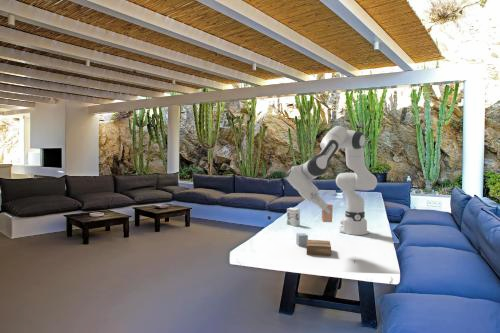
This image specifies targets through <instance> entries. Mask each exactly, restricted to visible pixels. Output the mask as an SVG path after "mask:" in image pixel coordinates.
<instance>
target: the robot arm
mask: <svg viewBox="0 0 500 333" xmlns="http://www.w3.org/2000/svg"><path fill="white" fill-rule="evenodd" d="M366 139H367V138H366V136H365V134H364V133H363V132H362V131H359V130H352V129H346V128H345V127H344V126H343V125H336V126H333V128H331V129H330V130H329V131H327V133H326V134H325V135H324V136H323V137H322V139H321V141H320V143H319V147H320V148H321V151H320V152H319V154H316V155H313V156H312V157H311V158H310V159H308V160H307V161H305V163H302V164H299V165H293V166H291V167H290V168H289V169H288V171H287V172H286V174H285V178H286V180H287V182H288V183H289V184H290V186H292V188H293V189H294V190H296V191H297V192H298V193H299V195H300V197H302V198H303V200H305V201H306V202H307V201H309V202H311V203H313V204H314V205H316V206H317V207H318V208H320V209H321V211H322V210H325V211H326V212H327V213H328V214H330V213H331V211H330V210H329V209H328V208H327V206H328V205H327V204H328V203H327V202H325V200H324V199H323V198H322V197H321V196H320V193H319V188H318V187H317V186H316V185H315V184H314V182H312V181H313V180H314V179H317V177H320V176H322V175H325V173H326V172H327V171H328V169H329V164H330V161H331V160H332V158H333V157H334V155H335V154H336V153H337V152H338V151H339V150H340V149H344V150H345V164H346V167H347V168H348V169H350V170H351V171H353V172H339V173H338V174H337V176H336V177H335V184H336V187H338V188H339V189H340V190H341V192H343V194H344V196H345V201H346V203H345V204H346V207H345V208H346V210H345V213H344V215H345V216H344V218H343V220H340V225H341V226H339V227H338V229H339V233H341V234H347V235H353V236H363V235H367V234H370V231H369V230H368V221H367V219H366V213H365V199H364V198H363V196H361V195H359V194H357V193H356V191H373V190H375V189H376V187H377V186H378V179H377V177H376V176H375V175H374V174H373V173H372V172H370V171H369V169H368V168H367V166H366V162H365V150H364V146H365V144H366Z"/></svg>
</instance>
